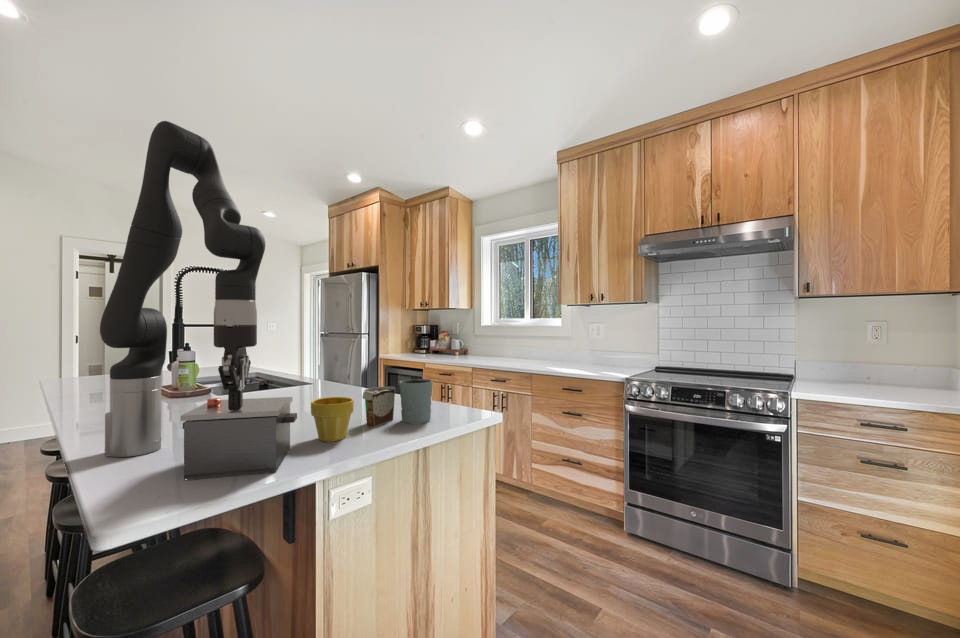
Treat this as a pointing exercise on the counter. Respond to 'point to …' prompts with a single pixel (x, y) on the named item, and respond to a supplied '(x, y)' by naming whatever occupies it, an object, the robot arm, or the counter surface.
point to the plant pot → (332, 417)
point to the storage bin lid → (250, 409)
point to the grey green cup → (416, 400)
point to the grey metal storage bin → (236, 445)
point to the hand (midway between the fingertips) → (235, 409)
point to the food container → (379, 405)
